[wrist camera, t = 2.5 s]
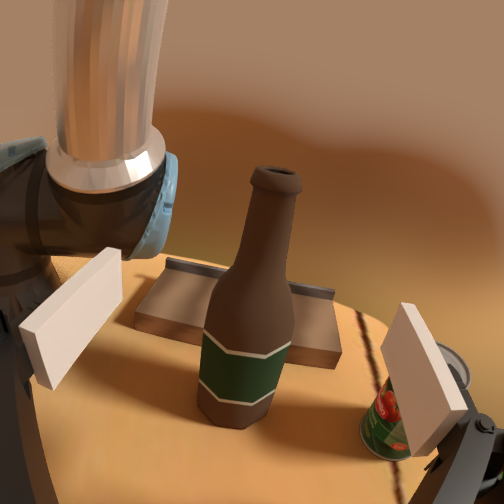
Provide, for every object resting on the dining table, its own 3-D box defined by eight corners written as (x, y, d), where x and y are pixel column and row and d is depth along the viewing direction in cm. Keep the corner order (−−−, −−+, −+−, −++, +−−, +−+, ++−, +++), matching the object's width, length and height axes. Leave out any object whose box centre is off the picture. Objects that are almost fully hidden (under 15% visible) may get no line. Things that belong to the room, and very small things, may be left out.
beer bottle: (187, 381, 33) (209, 154, 23) (253, 372, 36) (300, 163, 26) (206, 438, 27) (244, 180, 17) (279, 423, 30) (357, 191, 20)
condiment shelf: (135, 329, 39) (134, 301, 37) (166, 281, 51) (167, 256, 49) (334, 369, 39) (346, 343, 37) (326, 312, 50) (334, 289, 48)
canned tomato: (429, 452, 26) (485, 386, 22) (372, 468, 25) (427, 401, 21) (404, 404, 34) (446, 336, 29) (350, 411, 32) (389, 339, 28)
